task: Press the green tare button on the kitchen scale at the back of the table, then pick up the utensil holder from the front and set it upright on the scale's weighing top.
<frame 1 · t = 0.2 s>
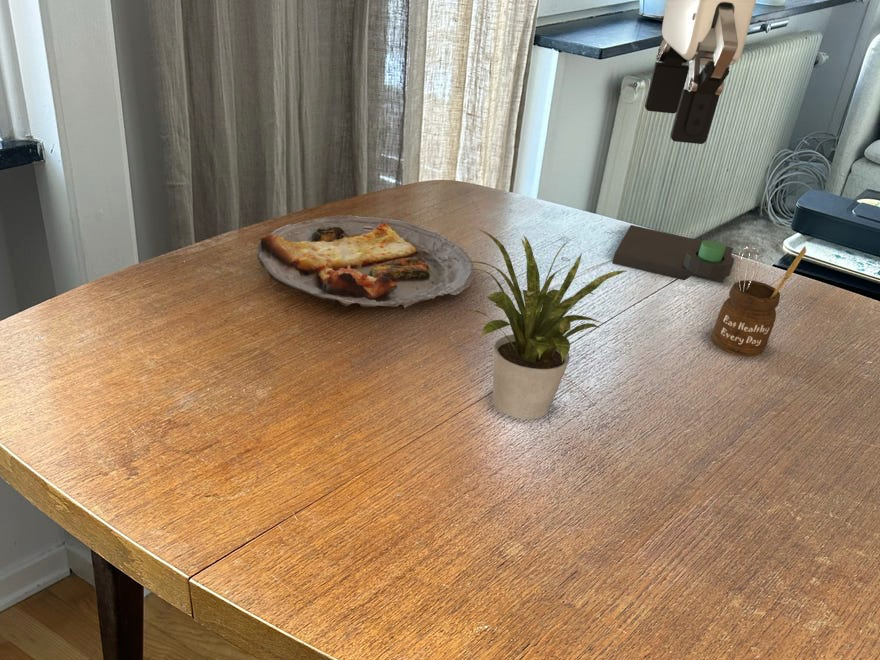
hand: (673, 125, 88), 22 cm above the table, tool pointing down, fingers open, 9 cm apart
tare button: (711, 251, 119), point 4 cm above the table, slide at 0.1 cm
food plate: (363, 276, 111), on the table
house plant: (504, 410, 91), on the table
scale: (672, 261, 125), on the table
utensil holder: (735, 352, 106), on the table
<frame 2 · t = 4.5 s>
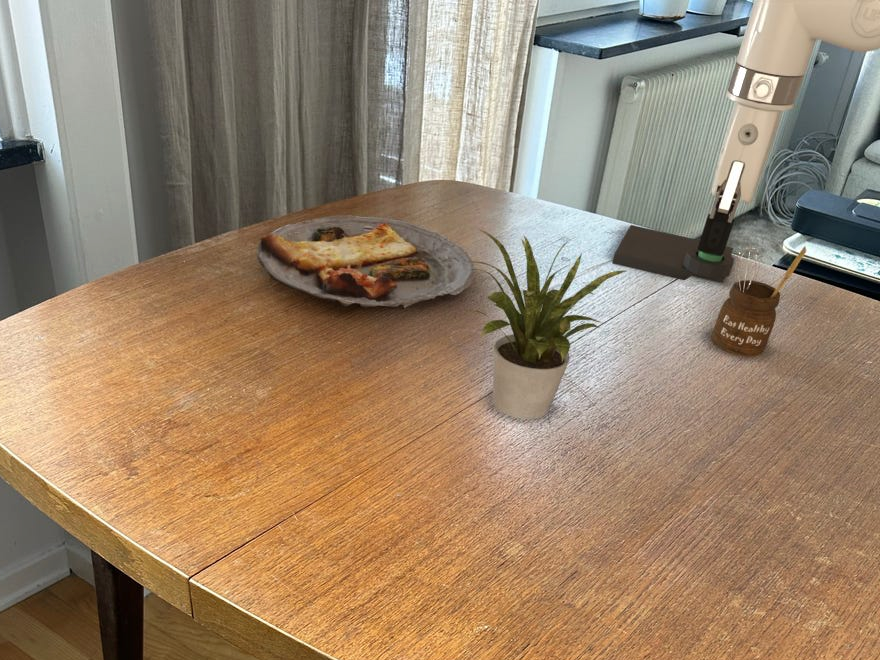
hand: (710, 251, 119), 4 cm above the table, tool pointing down, fingers closed
tare button: (709, 258, 119), point 3 cm above the table, slide at -0.7 cm, touching gripper
everything else where it was.
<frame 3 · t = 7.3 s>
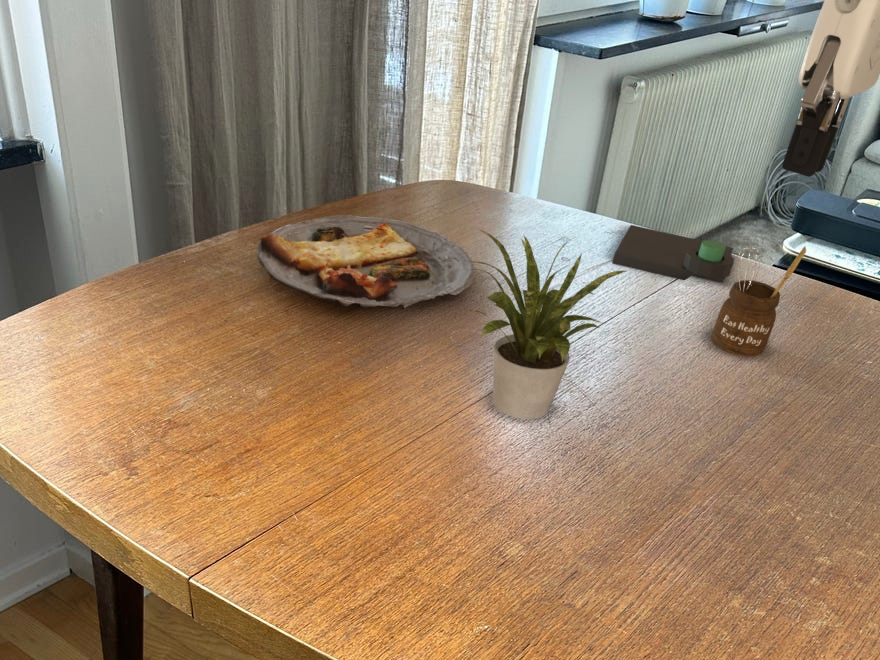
hand: (801, 168, 93), 19 cm above the table, tool pointing down, fingers closed
tare button: (711, 251, 119), point 4 cm above the table, slide at 0.1 cm
everything else where it was.
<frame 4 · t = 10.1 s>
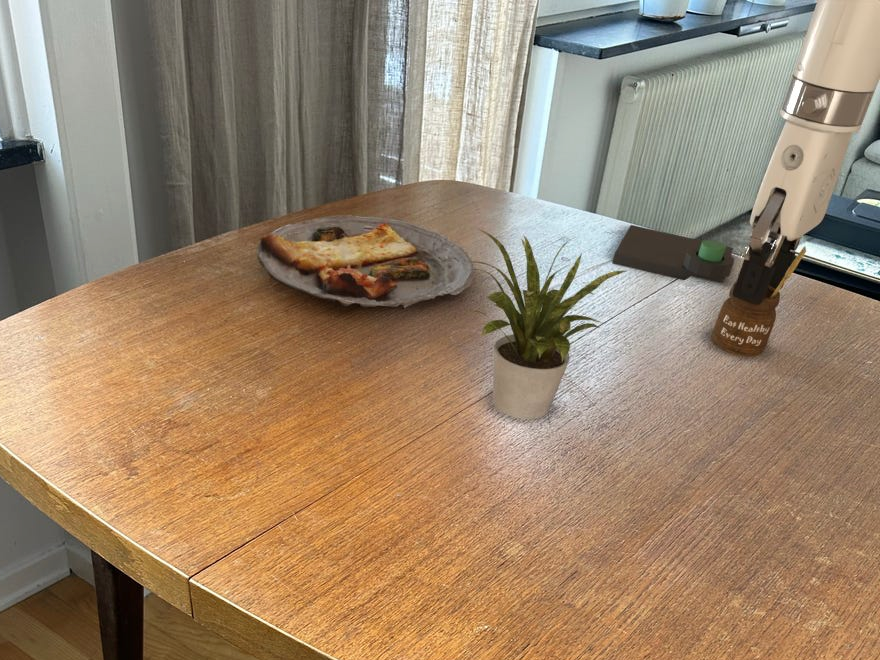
hand: (757, 291, 101), 7 cm above the table, tool pointing down, fingers closed on utensil holder, 5 cm apart
utensil holder: (735, 352, 106), on the table, touching gripper
everything else where it was.
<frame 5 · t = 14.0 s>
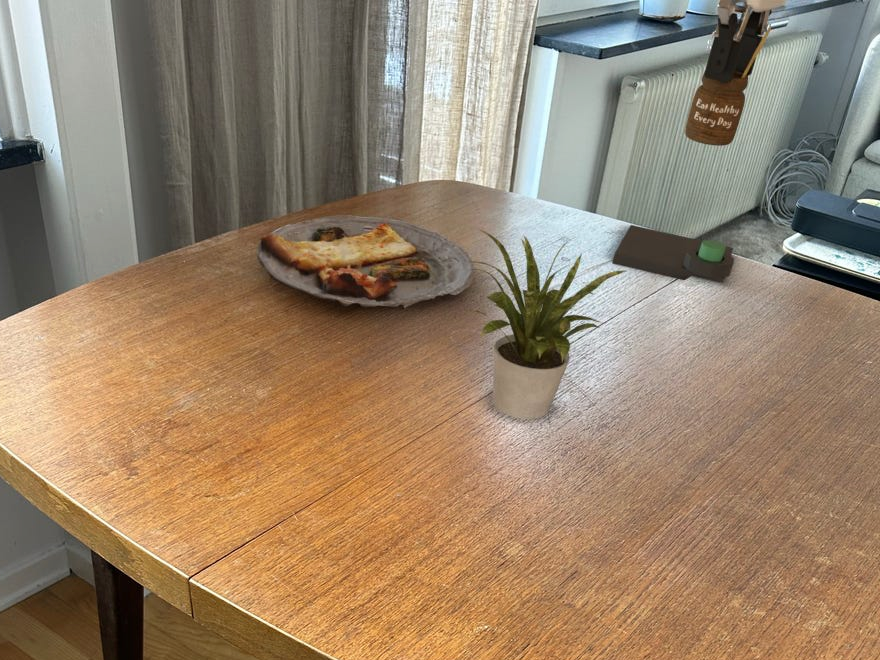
hand: (727, 74, 109), 22 cm above the table, tool pointing down, fingers closed on utensil holder, 5 cm apart
utensil holder: (708, 141, 114), point 15 cm above the table, touching gripper
everything else where it was.
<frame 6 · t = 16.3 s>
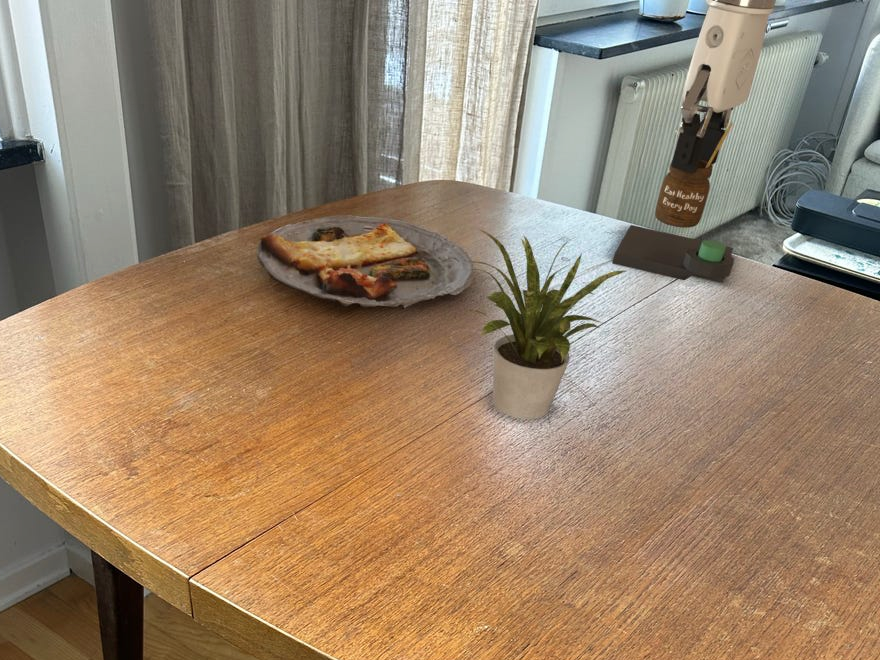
hand: (693, 164, 118), 11 cm above the table, tool pointing down, fingers closed on utensil holder, 5 cm apart
utensil holder: (676, 222, 123), point 4 cm above the table, touching gripper
everything else where it was.
when the fingers open (8 cm above the table, at t = 17.8 s): utensil holder stays where it is, resting on scale.
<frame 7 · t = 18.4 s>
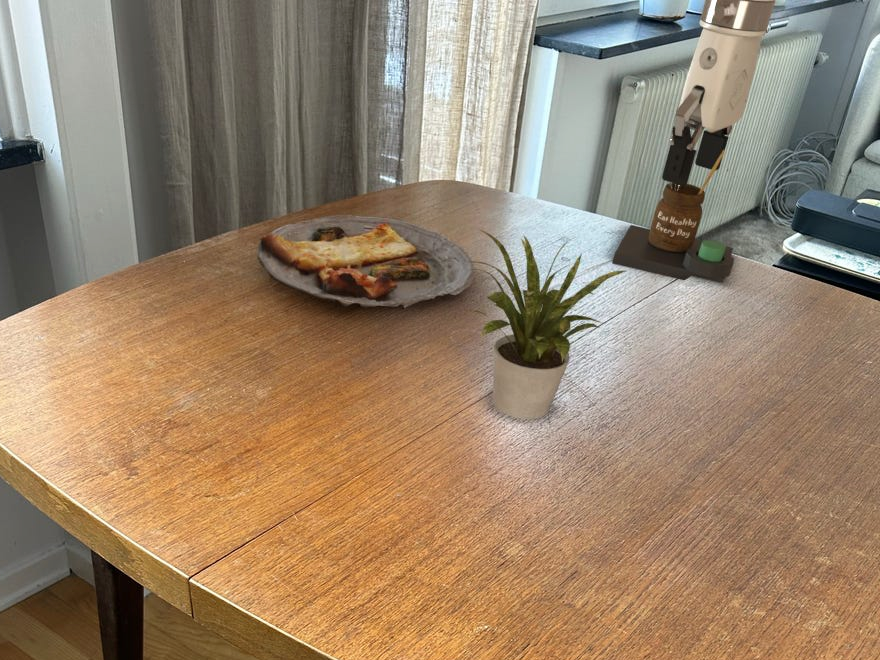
hand: (690, 174, 119), 10 cm above the table, tool pointing down, fingers open, 9 cm apart
utensil holder: (669, 246, 125), point 1 cm above the table, touching scale
everything else where it was.
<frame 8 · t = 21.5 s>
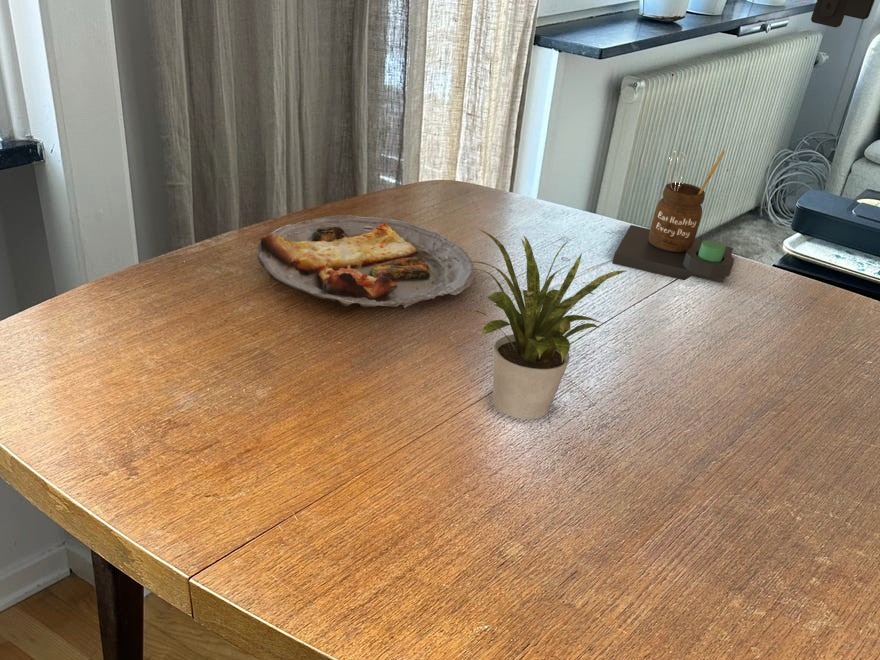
hand: (839, 20, 105), 28 cm above the table, tool pointing down, fingers open, 9 cm apart
nothing on the table moved.
at the end: tare button pushed in 0.9 cm at the most during the clip, back to where it started at the end; utensil holder inside the target area on the scale (0.2 cm from its centre), point 1.2 cm above the scale's base; utensil holder tilted 0° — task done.
